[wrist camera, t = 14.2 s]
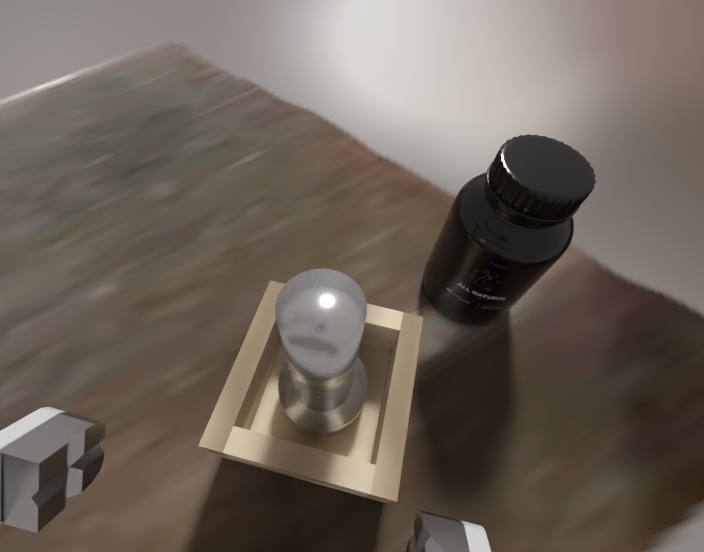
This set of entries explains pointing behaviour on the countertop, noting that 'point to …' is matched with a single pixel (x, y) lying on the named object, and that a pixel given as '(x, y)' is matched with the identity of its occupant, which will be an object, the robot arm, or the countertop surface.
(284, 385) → the metal coffee tamper
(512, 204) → the supplement bottle
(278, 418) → the open wooden box
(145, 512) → the countertop surface
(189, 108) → the countertop surface
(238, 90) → the countertop surface
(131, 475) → the countertop surface
